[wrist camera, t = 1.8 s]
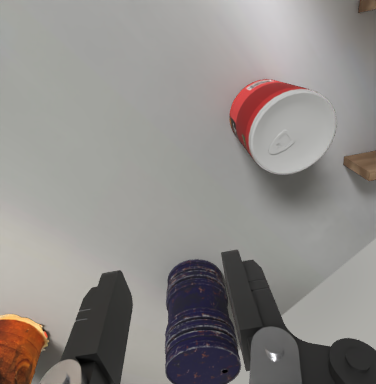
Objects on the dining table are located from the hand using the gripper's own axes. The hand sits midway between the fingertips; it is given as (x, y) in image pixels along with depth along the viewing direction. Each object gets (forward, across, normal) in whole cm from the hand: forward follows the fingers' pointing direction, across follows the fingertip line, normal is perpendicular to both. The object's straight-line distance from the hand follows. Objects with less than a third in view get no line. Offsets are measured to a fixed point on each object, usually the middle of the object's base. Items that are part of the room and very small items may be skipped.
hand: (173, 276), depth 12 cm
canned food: (+26, -11, 0) cm, 28 cm away
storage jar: (+26, +2, +27) cm, 37 cm away
